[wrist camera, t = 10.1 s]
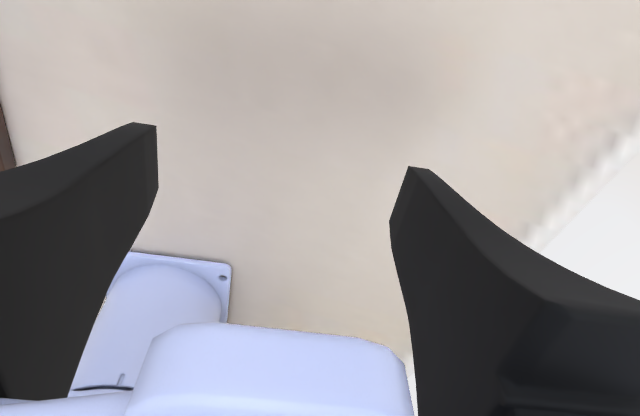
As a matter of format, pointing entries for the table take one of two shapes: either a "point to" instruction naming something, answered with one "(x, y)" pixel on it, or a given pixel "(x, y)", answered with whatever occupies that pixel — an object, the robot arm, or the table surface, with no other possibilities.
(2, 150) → the walnut board
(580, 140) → the table surface
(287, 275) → the table surface
